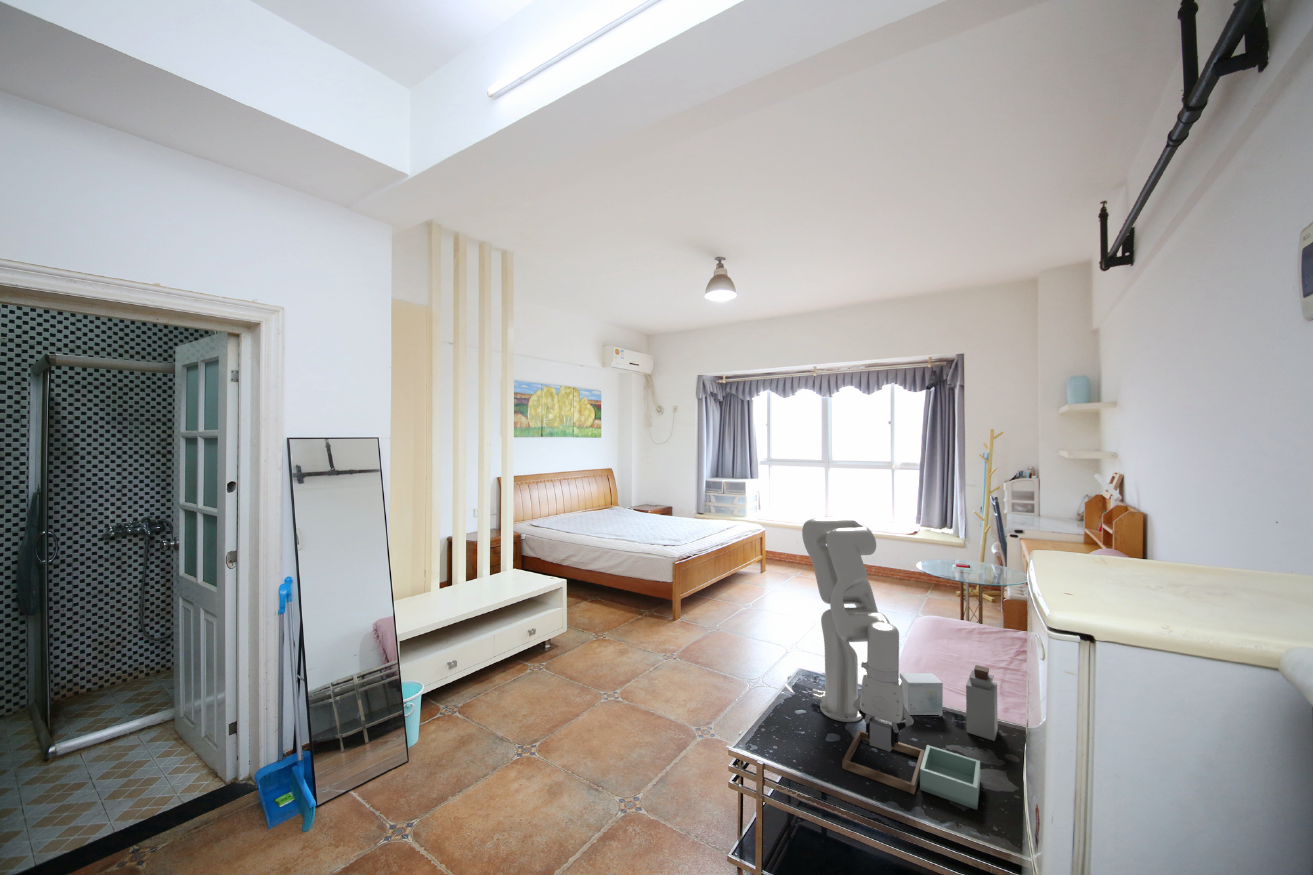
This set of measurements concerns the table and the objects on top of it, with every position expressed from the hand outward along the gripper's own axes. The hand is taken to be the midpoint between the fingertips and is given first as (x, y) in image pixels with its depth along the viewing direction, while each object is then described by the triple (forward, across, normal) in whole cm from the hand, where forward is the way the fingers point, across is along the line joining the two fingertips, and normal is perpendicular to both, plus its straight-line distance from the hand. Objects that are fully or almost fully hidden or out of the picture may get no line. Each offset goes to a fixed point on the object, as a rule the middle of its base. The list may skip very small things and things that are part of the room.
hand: (882, 739), depth 133 cm
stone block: (+1, 0, 0) cm, 1 cm away
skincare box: (+7, +5, +32) cm, 33 cm away
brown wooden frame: (+6, +1, -1) cm, 6 cm away
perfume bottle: (+6, +21, +30) cm, 37 cm away
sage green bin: (+5, +16, -1) cm, 17 cm away
